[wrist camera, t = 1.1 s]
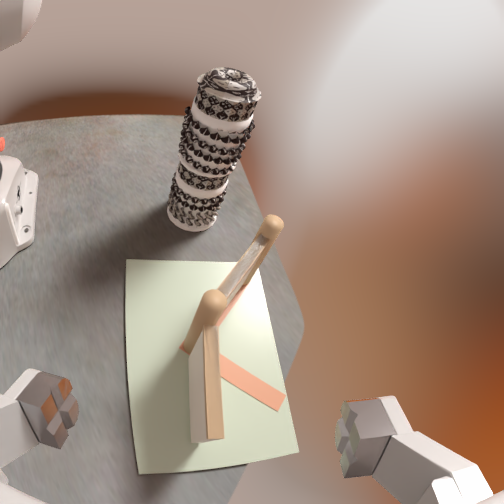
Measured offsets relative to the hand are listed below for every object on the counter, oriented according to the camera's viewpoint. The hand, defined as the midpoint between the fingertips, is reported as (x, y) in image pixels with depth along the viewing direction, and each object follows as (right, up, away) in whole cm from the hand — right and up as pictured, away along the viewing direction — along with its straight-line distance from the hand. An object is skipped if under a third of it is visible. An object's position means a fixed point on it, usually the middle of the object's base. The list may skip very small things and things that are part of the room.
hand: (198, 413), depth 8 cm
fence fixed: (-3, -4, +36) cm, 37 cm away
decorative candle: (-9, +11, +45) cm, 47 cm away
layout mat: (-5, -9, +32) cm, 33 cm away
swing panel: (-5, -13, +27) cm, 31 cm away
